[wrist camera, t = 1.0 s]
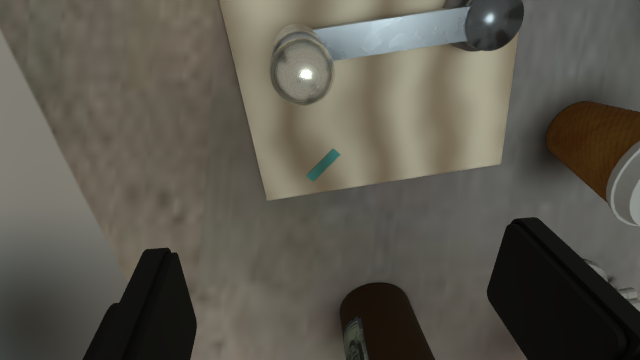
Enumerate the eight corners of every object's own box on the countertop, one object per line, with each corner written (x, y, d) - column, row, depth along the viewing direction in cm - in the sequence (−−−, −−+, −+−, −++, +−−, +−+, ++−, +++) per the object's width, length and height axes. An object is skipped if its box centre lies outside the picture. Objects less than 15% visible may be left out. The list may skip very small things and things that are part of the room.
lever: (512, -17, 28) (645, -18, 17) (505, 42, 30) (620, 73, 20) (268, 19, 27) (260, 40, 17) (279, 77, 29) (277, 126, 19)
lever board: (526, -91, 28) (550, -98, 26) (494, 159, 39) (510, 171, 36) (211, -45, 28) (203, -48, 25) (267, 194, 38) (266, 210, 36)
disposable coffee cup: (556, 185, 41) (649, 253, 31) (514, 133, 38) (603, 191, 27) (634, 126, 38) (765, 179, 28) (597, 64, 35) (732, 99, 24)
